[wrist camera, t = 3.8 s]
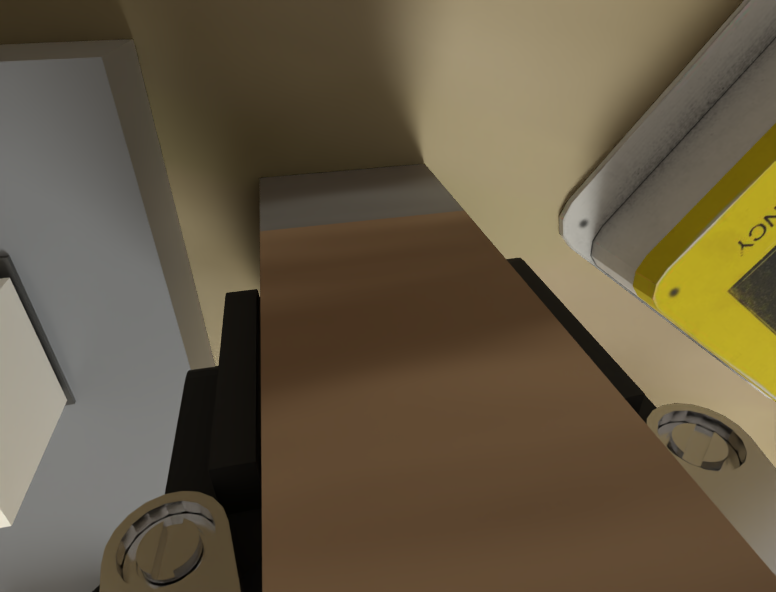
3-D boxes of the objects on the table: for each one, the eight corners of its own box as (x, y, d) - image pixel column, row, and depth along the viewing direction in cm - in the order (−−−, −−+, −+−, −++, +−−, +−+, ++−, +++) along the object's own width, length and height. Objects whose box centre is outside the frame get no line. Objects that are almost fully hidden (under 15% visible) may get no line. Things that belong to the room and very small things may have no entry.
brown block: (259, 177, 12) (265, 1084, 2) (424, 164, 13) (984, 821, 3) (281, 318, 14) (333, 1103, 4) (422, 300, 15) (741, 946, 5)
